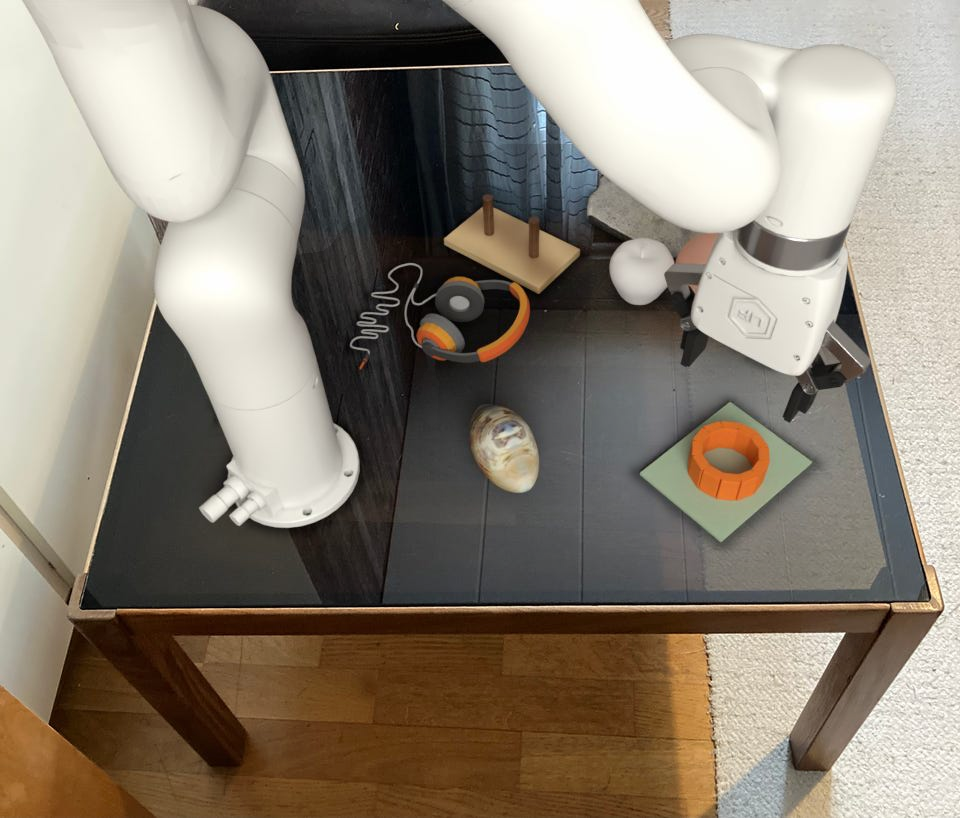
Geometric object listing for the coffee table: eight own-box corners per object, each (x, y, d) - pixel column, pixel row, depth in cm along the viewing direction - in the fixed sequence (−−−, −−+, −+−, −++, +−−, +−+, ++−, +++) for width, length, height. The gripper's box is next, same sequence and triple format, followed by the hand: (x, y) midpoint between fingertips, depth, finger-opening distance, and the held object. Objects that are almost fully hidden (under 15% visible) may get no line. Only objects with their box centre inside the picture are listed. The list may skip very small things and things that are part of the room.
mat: (720, 542, 84) (721, 540, 84) (639, 474, 89) (639, 472, 89) (811, 463, 89) (812, 461, 89) (729, 403, 94) (730, 401, 94)
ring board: (538, 294, 105) (539, 252, 100) (444, 245, 111) (440, 203, 106) (580, 255, 109) (582, 213, 104) (486, 210, 115) (484, 168, 110)
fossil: (756, 217, 113) (763, 193, 110) (672, 275, 106) (676, 251, 103) (643, 154, 122) (647, 130, 119) (559, 204, 115) (560, 180, 112)
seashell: (554, 495, 88) (556, 444, 82) (499, 519, 87) (497, 469, 80) (508, 424, 94) (507, 372, 87) (456, 445, 92) (451, 393, 86)
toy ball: (729, 241, 106) (664, 236, 104) (764, 228, 98) (695, 222, 96) (727, 312, 106) (662, 308, 104) (763, 304, 98) (693, 300, 96)
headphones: (383, 244, 107) (545, 248, 99) (397, 279, 111) (555, 286, 103) (318, 348, 98) (492, 362, 89) (336, 382, 101) (505, 399, 93)
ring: (739, 513, 86) (745, 495, 83) (673, 475, 88) (677, 456, 86) (776, 464, 89) (783, 445, 86) (711, 428, 92) (716, 409, 89)
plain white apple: (605, 314, 102) (610, 258, 96) (608, 269, 107) (613, 214, 101) (670, 318, 102) (679, 262, 95) (670, 273, 106) (679, 217, 100)
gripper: (658, 204, 68) (631, 362, 81) (885, 309, 61) (815, 463, 74) (711, 154, 71) (677, 313, 85) (931, 248, 64) (857, 405, 78)
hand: (742, 383), depth 79 cm, fingers open, 9 cm apart
